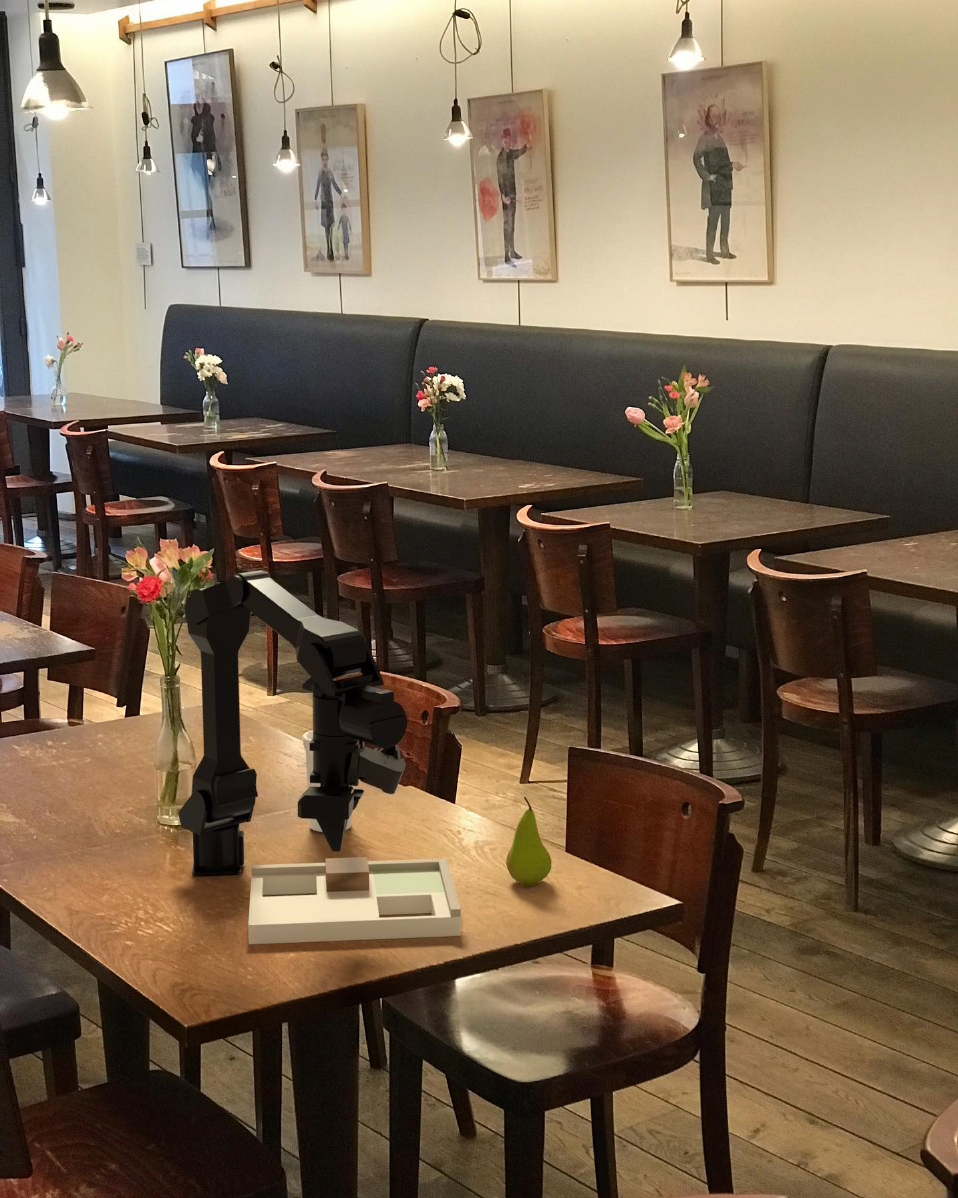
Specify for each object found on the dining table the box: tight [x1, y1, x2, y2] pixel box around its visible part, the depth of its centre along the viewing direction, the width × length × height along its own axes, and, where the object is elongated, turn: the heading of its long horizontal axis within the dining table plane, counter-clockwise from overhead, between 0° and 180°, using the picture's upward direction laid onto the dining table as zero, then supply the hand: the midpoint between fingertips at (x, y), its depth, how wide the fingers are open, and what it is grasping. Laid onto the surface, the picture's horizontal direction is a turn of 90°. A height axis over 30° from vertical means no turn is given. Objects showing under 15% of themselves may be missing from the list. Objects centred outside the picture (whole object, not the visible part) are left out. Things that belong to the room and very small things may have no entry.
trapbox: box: [247, 857, 462, 945], centre depth 205 cm, size 26×18×4 cm
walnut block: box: [324, 856, 369, 892], centre depth 208 cm, size 6×6×2 cm
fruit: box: [505, 796, 552, 887], centre depth 215 cm, size 6×6×12 cm
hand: (336, 850), depth 200 cm, fingers closed
